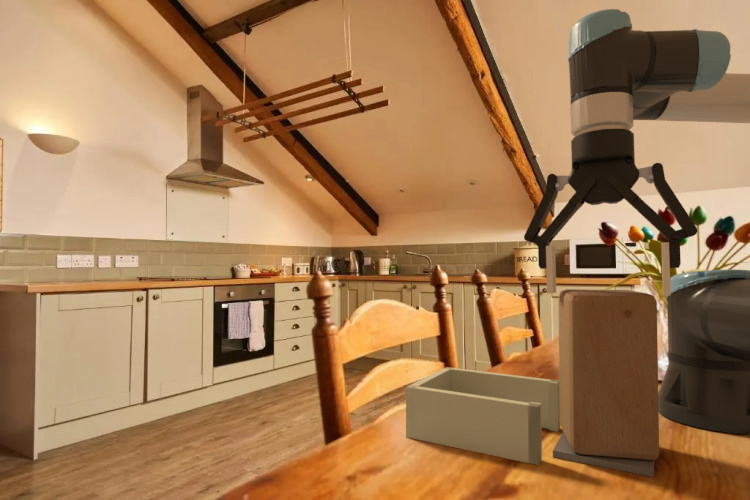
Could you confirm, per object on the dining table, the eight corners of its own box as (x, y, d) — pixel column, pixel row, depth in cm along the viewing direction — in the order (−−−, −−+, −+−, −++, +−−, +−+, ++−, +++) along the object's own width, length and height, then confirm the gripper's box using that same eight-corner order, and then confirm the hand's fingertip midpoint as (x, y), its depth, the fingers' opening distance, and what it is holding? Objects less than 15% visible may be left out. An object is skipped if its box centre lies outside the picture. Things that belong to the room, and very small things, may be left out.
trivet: (654, 445, 63) (653, 439, 63) (653, 477, 54) (653, 470, 54) (566, 430, 69) (566, 424, 69) (552, 456, 59) (552, 450, 59)
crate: (560, 428, 70) (559, 380, 70) (538, 465, 57) (538, 406, 57) (446, 408, 79) (446, 367, 79) (406, 437, 66) (406, 386, 66)
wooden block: (662, 464, 55) (659, 294, 56) (571, 456, 58) (570, 292, 58) (635, 434, 65) (633, 289, 66) (558, 428, 67) (557, 288, 68)
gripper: (713, 125, 59) (719, 294, 59) (514, 152, 72) (517, 290, 71) (720, 109, 53) (727, 298, 52) (500, 141, 66) (503, 293, 65)
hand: (606, 294), depth 62 cm, fingers open, 13 cm apart
